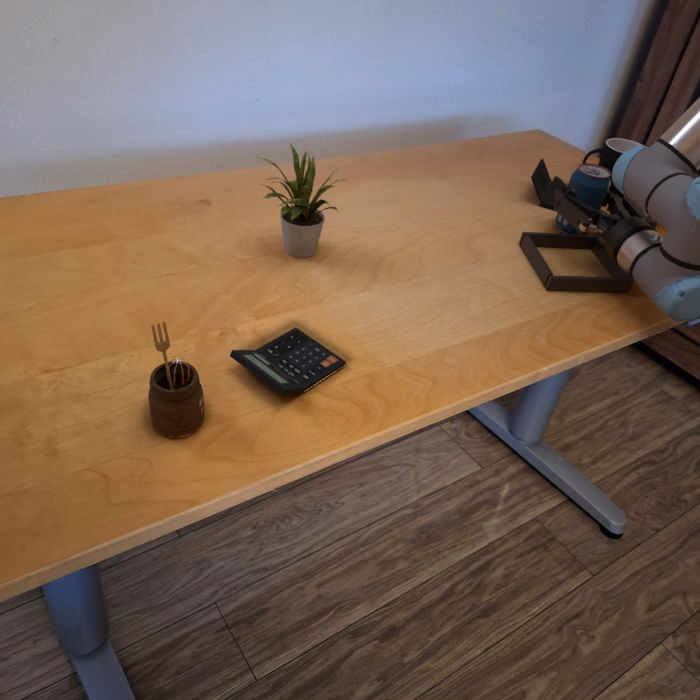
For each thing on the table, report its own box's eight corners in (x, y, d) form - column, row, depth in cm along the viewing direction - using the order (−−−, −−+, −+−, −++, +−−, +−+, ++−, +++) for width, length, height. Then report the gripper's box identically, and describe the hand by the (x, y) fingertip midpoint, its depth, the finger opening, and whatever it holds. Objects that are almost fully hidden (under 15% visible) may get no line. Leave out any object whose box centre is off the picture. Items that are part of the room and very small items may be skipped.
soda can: (594, 229, 119) (618, 170, 111) (583, 243, 114) (608, 182, 106) (559, 216, 121) (581, 158, 113) (548, 229, 116) (570, 169, 109)
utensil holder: (164, 447, 68) (154, 366, 60) (142, 411, 72) (130, 331, 64) (214, 427, 71) (210, 348, 63) (190, 393, 74) (184, 314, 67)
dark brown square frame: (593, 246, 114) (598, 234, 113) (628, 292, 103) (634, 280, 102) (518, 243, 112) (522, 231, 110) (546, 290, 101) (551, 277, 99)
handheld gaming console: (581, 208, 122) (563, 162, 119) (545, 223, 125) (527, 178, 122) (578, 192, 132) (561, 149, 128) (544, 206, 135) (527, 164, 131)
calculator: (345, 366, 81) (347, 349, 79) (280, 409, 74) (281, 391, 72) (295, 331, 86) (296, 314, 84) (229, 369, 79) (229, 351, 77)
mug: (629, 188, 137) (649, 144, 130) (630, 205, 130) (651, 159, 123) (575, 175, 139) (591, 131, 132) (573, 191, 132) (590, 145, 125)
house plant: (239, 231, 104) (239, 136, 94) (314, 219, 110) (321, 129, 100) (271, 276, 95) (274, 177, 85) (350, 261, 101) (362, 167, 90)
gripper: (700, 227, 100) (626, 165, 116) (591, 227, 95) (530, 163, 112) (679, 267, 104) (610, 202, 121) (574, 268, 100) (518, 201, 117)
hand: (572, 183), depth 117 cm, fingers closed on soda can, 7 cm apart
